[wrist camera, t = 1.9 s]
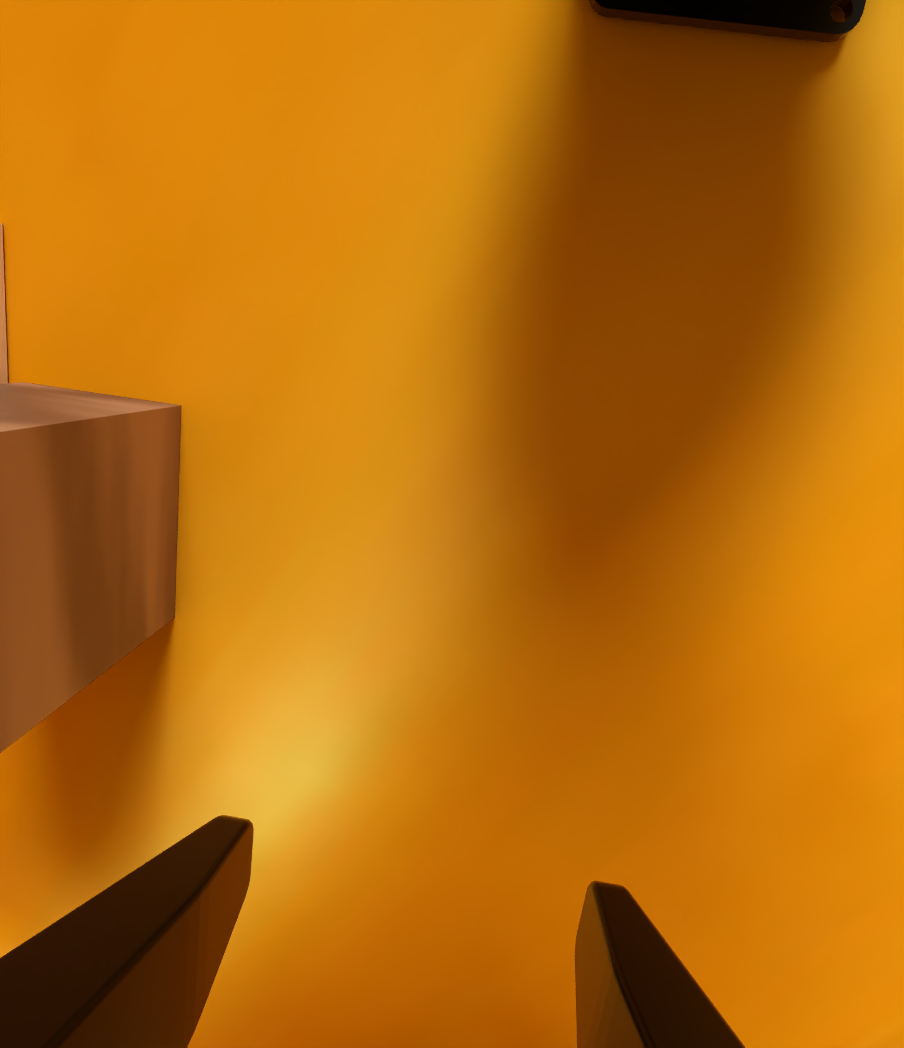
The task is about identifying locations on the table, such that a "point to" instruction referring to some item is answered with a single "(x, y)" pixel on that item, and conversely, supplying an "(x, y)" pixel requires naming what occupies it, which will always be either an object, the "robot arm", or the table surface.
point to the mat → (2, 317)
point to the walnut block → (80, 540)
